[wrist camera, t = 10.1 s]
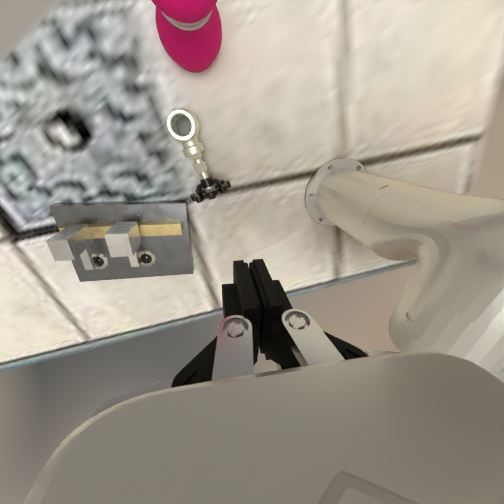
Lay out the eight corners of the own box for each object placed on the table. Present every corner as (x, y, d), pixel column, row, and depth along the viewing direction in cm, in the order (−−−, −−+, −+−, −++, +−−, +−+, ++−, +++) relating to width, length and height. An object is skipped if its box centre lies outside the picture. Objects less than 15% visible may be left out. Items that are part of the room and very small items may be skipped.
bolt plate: (186, 201, 38) (180, 218, 31) (193, 269, 45) (191, 298, 37) (55, 203, 35) (11, 223, 27) (84, 277, 42) (55, 310, 34)
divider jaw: (139, 218, 36) (127, 233, 31) (148, 261, 40) (139, 281, 35) (119, 219, 36) (103, 234, 30) (130, 262, 40) (118, 283, 34)
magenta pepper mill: (218, 81, 32) (233, 17, 14) (164, 71, 30) (107, -13, 13) (221, 11, 28) (244, -183, 11) (160, -4, 27) (76, -256, 9)
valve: (158, 119, 32) (193, 195, 38) (147, 116, 27) (191, 206, 33) (200, 103, 32) (229, 182, 38) (198, 96, 27) (233, 191, 33)
